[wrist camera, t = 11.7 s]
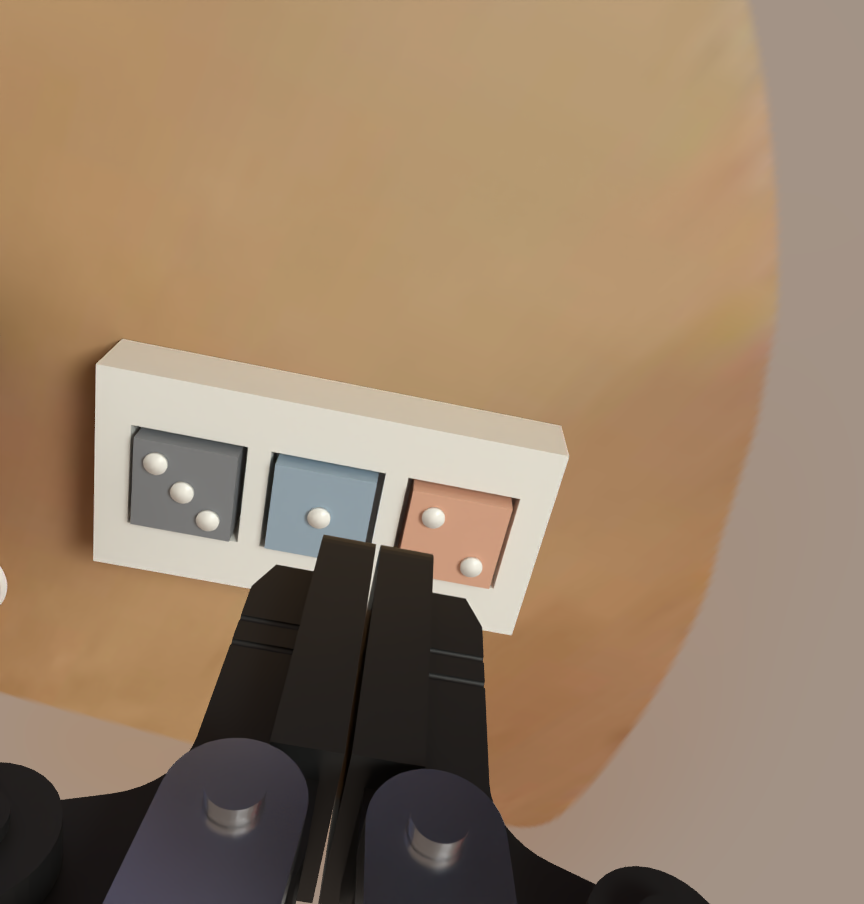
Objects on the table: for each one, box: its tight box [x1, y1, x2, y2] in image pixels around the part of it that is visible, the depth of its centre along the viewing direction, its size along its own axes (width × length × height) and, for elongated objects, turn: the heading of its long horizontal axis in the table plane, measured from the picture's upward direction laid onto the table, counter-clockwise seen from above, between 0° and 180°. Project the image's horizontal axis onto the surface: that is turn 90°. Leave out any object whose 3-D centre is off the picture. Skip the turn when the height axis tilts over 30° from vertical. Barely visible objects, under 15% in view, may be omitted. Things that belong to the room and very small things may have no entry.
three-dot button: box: [130, 427, 248, 542], centre depth 37 cm, size 4×4×3 cm
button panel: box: [93, 339, 569, 635], centre depth 38 cm, size 20×10×3 cm, turn 78°
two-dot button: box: [398, 479, 513, 589], centre depth 37 cm, size 4×4×3 cm
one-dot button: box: [264, 453, 379, 558], centre depth 37 cm, size 4×4×3 cm
